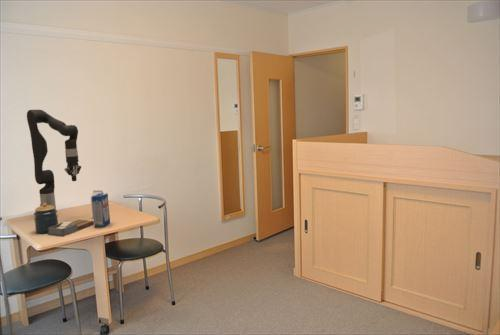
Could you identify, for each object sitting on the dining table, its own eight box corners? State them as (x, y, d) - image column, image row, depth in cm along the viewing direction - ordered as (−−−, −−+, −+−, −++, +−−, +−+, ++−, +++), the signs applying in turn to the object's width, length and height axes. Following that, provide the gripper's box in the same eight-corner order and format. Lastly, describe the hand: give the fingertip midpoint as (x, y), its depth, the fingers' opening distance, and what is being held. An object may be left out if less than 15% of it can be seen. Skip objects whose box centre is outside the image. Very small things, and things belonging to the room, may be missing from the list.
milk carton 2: (100, 223, 261) (98, 193, 258) (110, 223, 260) (107, 193, 258) (94, 227, 251) (91, 196, 248) (104, 227, 250) (101, 196, 248)
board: (62, 229, 249) (62, 225, 249) (79, 223, 262) (79, 219, 262) (77, 230, 245) (77, 226, 245) (93, 224, 258) (93, 220, 258)
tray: (48, 234, 239) (47, 227, 239) (62, 229, 249) (62, 222, 249) (63, 236, 235) (62, 229, 234) (77, 230, 245) (76, 224, 245)
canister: (34, 235, 239) (31, 206, 237) (36, 229, 251) (33, 202, 249) (58, 231, 244) (55, 203, 242) (59, 226, 256) (56, 199, 254)
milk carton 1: (101, 218, 272) (99, 191, 269) (92, 218, 273) (90, 191, 271) (107, 216, 279) (105, 189, 276) (98, 215, 280) (96, 189, 277)
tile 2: (61, 229, 244) (59, 225, 243) (67, 225, 248) (65, 221, 247) (67, 230, 242) (65, 226, 241) (73, 226, 246) (71, 221, 245)
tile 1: (53, 233, 239) (53, 228, 238) (60, 231, 243) (60, 226, 243) (60, 234, 237) (59, 229, 237) (66, 231, 242) (66, 227, 241)
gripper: (75, 154, 272) (77, 179, 274) (59, 156, 259) (62, 182, 262) (83, 154, 269) (86, 179, 271) (68, 156, 257) (71, 183, 259)
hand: (74, 181), depth 267 cm, fingers closed
